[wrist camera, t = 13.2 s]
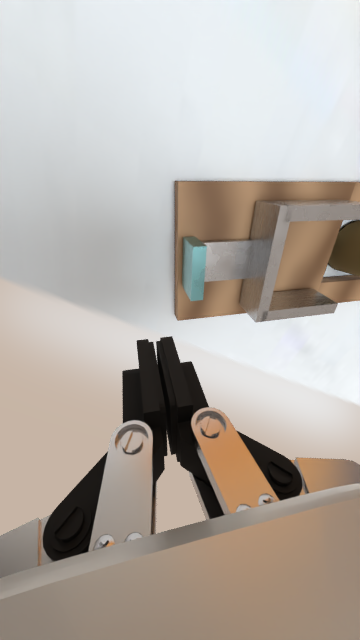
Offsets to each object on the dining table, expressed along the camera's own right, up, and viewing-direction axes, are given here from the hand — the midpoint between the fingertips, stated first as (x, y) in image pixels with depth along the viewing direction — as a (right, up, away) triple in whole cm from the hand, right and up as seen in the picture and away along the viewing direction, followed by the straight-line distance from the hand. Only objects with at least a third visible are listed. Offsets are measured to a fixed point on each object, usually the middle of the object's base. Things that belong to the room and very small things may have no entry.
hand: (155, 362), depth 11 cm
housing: (+10, +9, +14) cm, 19 cm away
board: (+14, +10, +16) cm, 24 cm away
